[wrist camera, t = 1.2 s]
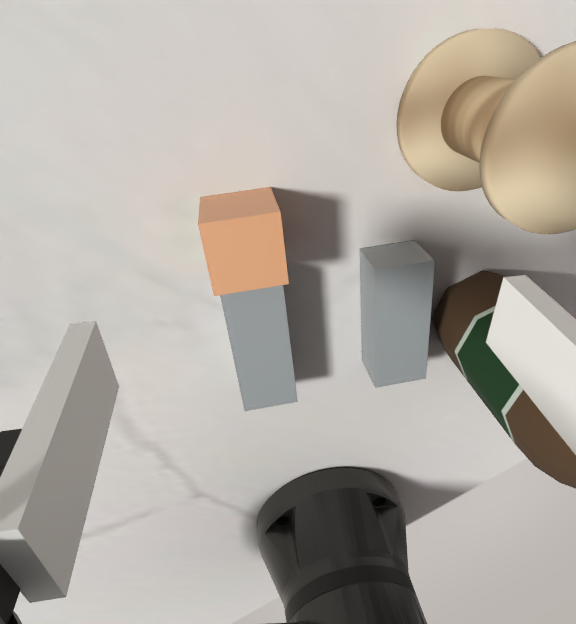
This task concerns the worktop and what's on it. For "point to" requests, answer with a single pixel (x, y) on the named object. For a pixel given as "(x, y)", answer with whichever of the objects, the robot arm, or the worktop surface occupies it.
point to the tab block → (243, 241)
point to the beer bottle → (498, 374)
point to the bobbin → (496, 125)
